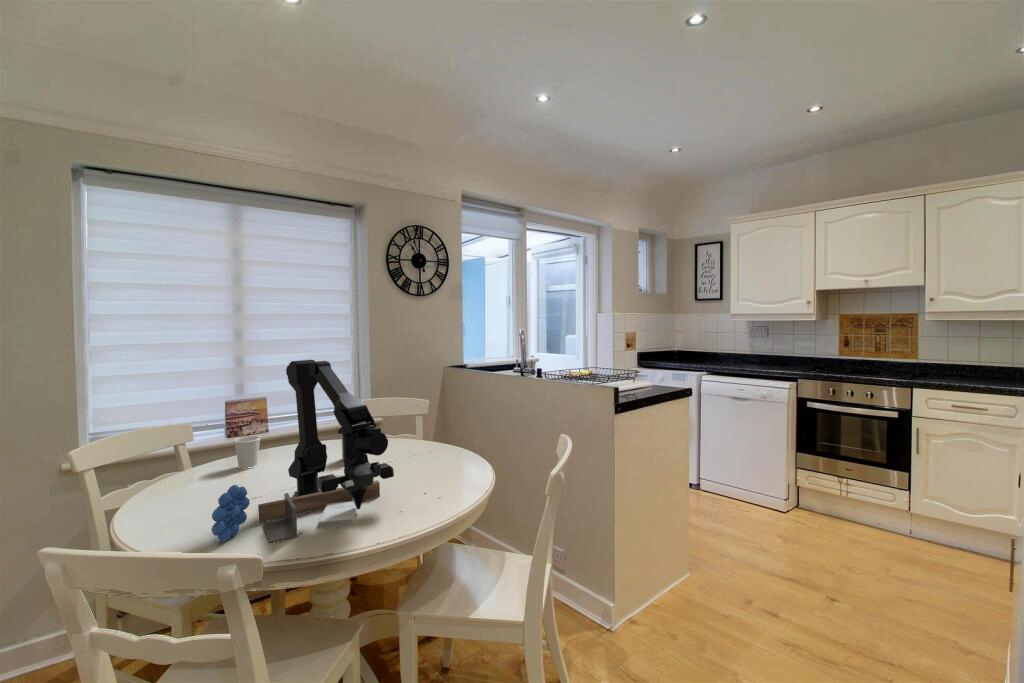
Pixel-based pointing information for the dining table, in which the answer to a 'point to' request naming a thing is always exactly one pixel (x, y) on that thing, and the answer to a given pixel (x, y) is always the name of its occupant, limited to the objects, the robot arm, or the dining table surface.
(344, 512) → the external hard drive
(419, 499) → the dining table surface
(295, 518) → the bookend
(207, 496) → the dining table surface
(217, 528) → the grapes
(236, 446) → the dixie cup
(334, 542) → the dining table surface
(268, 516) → the rail
